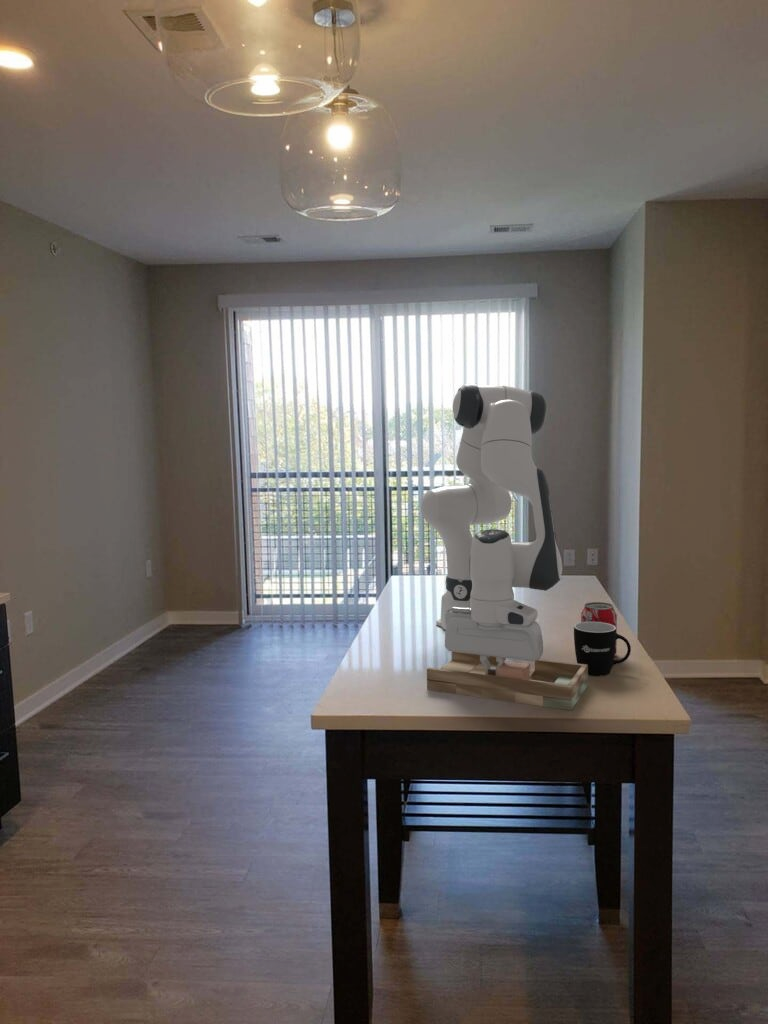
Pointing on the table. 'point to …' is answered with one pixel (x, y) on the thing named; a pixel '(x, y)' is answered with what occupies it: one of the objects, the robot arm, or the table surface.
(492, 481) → the robot arm
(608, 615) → the beverage can
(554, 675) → the trap box
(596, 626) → the mug
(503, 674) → the block
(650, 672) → the table surface
